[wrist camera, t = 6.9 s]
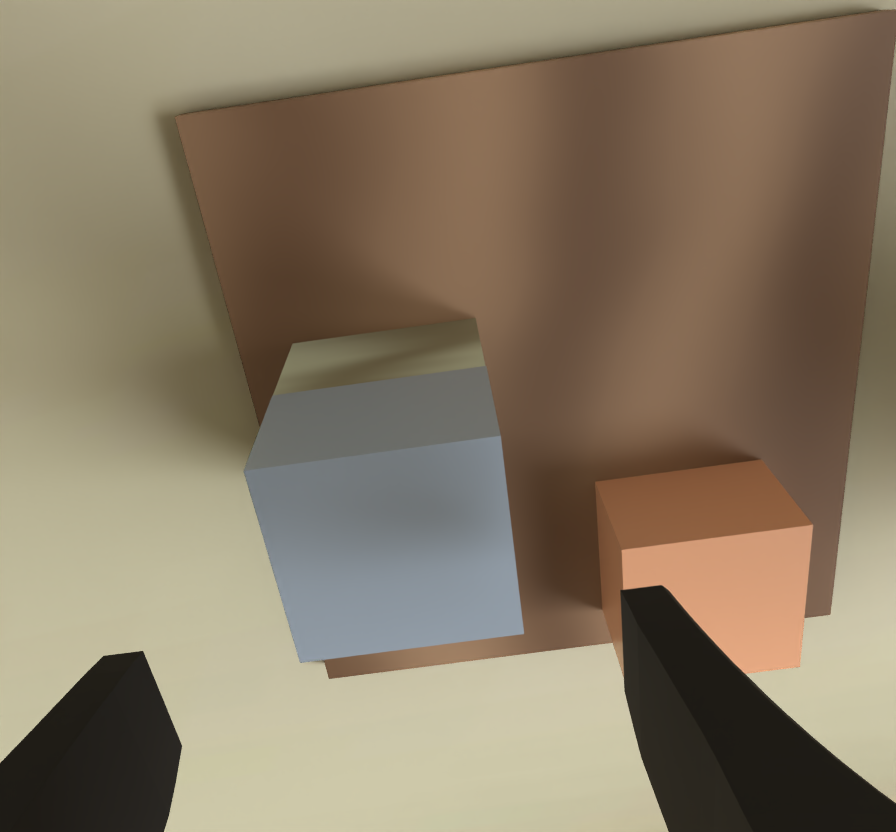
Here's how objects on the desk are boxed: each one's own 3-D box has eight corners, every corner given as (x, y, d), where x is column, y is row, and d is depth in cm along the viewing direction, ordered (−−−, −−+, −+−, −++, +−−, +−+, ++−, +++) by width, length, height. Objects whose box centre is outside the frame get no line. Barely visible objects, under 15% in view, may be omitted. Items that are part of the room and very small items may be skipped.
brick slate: (486, 365, 16) (500, 436, 13) (508, 542, 18) (523, 633, 15) (272, 395, 16) (243, 470, 13) (317, 566, 18) (299, 662, 15)
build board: (883, 10, 16) (996, 7, 13) (820, 601, 24) (884, 692, 20) (182, 113, 17) (126, 135, 14) (331, 664, 24) (317, 763, 21)
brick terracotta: (761, 459, 21) (813, 524, 18) (753, 590, 23) (799, 666, 20) (595, 481, 21) (621, 549, 18) (602, 609, 23) (627, 688, 20)
